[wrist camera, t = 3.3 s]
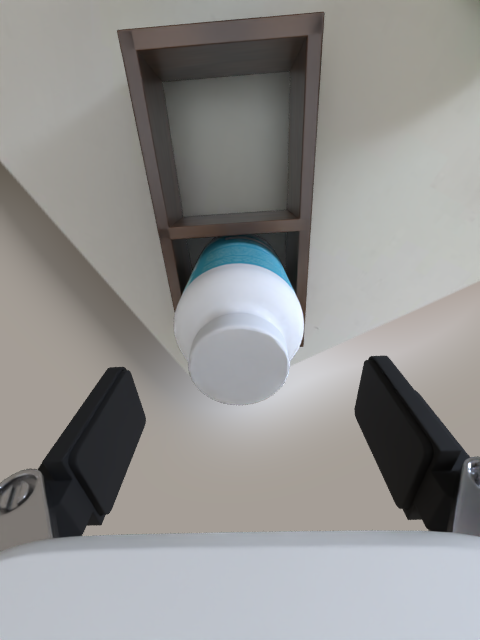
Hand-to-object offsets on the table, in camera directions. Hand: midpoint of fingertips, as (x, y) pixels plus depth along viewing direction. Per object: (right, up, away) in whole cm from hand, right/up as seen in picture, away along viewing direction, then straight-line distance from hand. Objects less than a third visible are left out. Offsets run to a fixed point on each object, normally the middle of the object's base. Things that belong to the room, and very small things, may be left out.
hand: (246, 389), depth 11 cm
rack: (-1, +11, +11) cm, 16 cm away
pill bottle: (0, +7, +13) cm, 15 cm away
